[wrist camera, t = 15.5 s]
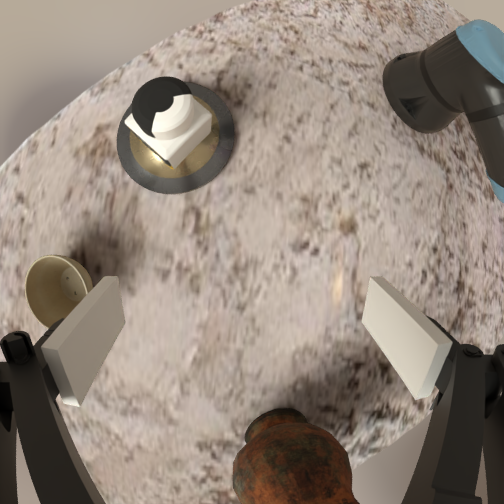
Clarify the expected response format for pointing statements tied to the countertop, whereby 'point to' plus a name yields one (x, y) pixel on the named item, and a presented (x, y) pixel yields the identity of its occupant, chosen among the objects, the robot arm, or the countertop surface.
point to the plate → (194, 165)
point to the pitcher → (291, 463)
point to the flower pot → (55, 288)
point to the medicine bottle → (168, 119)
